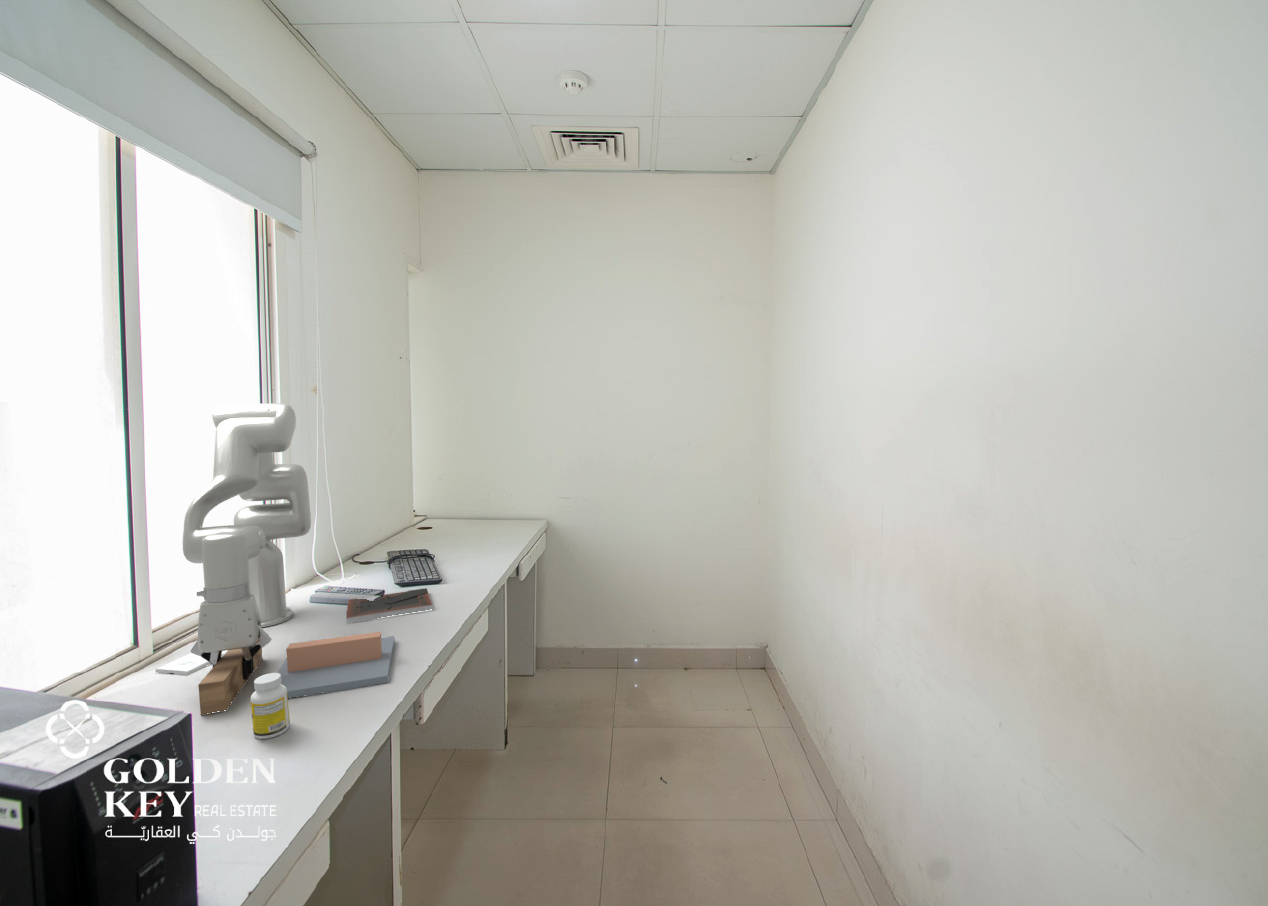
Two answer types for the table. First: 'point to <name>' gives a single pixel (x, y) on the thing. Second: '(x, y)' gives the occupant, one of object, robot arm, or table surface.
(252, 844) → the table surface
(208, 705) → the walnut beam
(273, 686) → the supplement bottle
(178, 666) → the external hard drive
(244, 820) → the table surface
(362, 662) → the ridge board
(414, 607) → the picture frame
